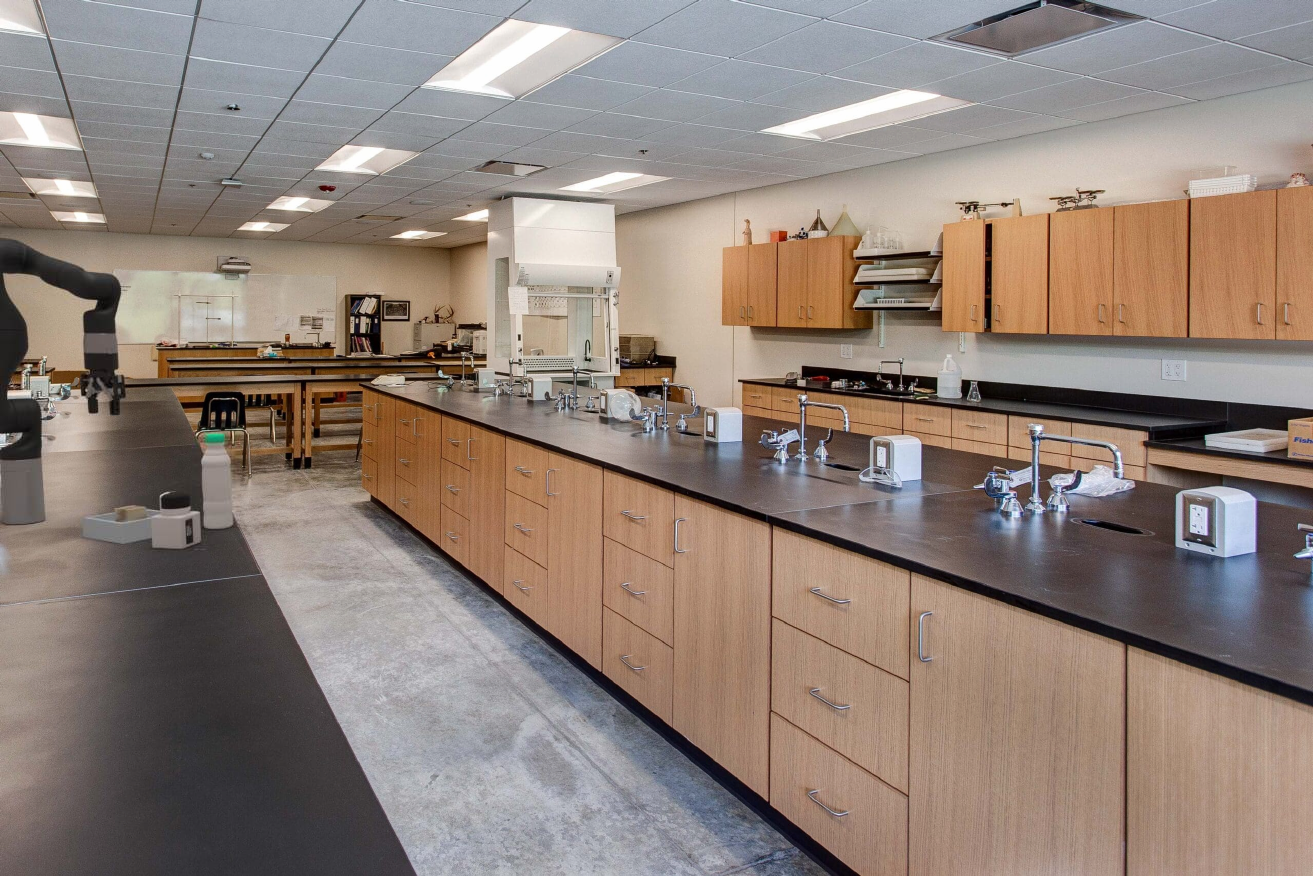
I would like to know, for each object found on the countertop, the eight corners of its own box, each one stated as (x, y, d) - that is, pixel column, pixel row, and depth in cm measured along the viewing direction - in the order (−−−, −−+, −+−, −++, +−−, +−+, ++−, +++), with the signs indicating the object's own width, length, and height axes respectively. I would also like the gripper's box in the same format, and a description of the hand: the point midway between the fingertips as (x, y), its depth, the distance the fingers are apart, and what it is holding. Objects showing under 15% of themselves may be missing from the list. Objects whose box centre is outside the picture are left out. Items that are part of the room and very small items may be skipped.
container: (201, 542, 220) (199, 490, 219) (182, 549, 213) (179, 495, 211) (172, 541, 221) (169, 489, 220) (151, 548, 213) (149, 494, 212)
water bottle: (225, 530, 234) (221, 435, 231) (198, 529, 234) (194, 434, 232) (238, 524, 241) (234, 432, 238) (212, 523, 241) (208, 432, 239)
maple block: (115, 531, 226) (114, 508, 225) (134, 528, 230) (133, 505, 229) (128, 533, 223) (127, 510, 223) (147, 530, 228) (146, 507, 227)
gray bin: (83, 537, 223) (82, 517, 223) (140, 526, 237) (139, 508, 236) (123, 544, 217) (121, 523, 216) (178, 532, 230) (177, 513, 230)
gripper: (68, 350, 228) (72, 414, 230) (104, 351, 222) (107, 416, 224) (97, 350, 235) (100, 412, 237) (133, 351, 229) (136, 414, 231)
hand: (104, 414), depth 230 cm, fingers open, 8 cm apart
